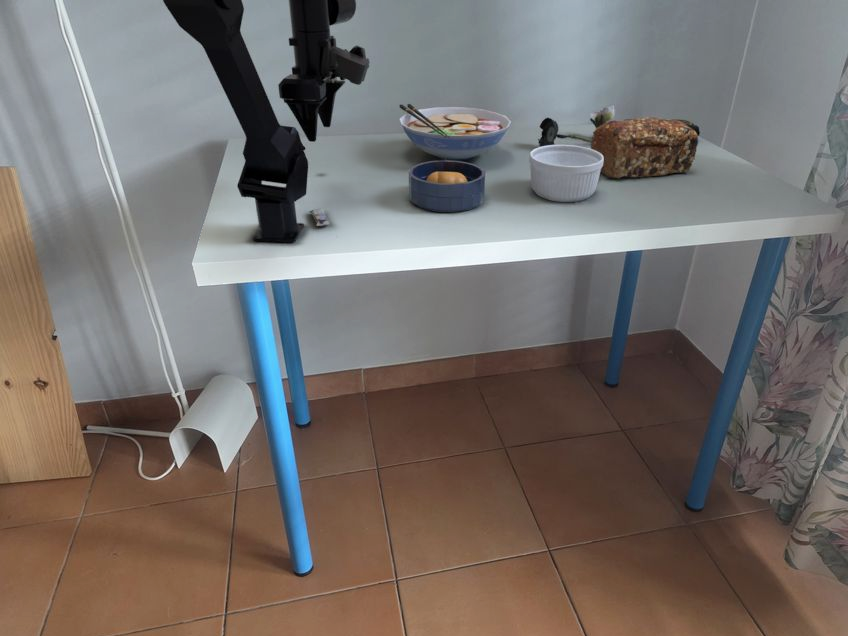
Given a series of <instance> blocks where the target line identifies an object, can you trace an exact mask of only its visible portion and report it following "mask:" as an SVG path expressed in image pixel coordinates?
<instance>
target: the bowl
mask: <svg viewBox="0 0 848 636" xmlns="http://www.w3.org/2000/svg"><path fill="white" fill-rule="evenodd" d="M434 172H458V173H461V174H463V175H464V176H465V178H466V179H467V182H464V183H454V184H446V183H434V182H428V181H426V180H427V178H428V176H429V175H430V174H432V173H434ZM485 185H486V171H485V170H484V169H483V168H482V167H481V166H479V165H477V164H474V163H470V162H466V161H449V160H444V159H441V160H431V161H425V162H420V163H418V164H414V165H413V166H412V167H410V168H409V170H408V198H409V200H410V201H411V202H412V203H414V205H415V206H416V207H419V208H421V209H423V210H426V211H431V212H438V213H459V212H465V211H470V210H473V209H474V208H477V207H479V205H481V204H482V203H483V202H484V201H485Z"/></svg>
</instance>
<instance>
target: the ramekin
mask: <svg viewBox="0 0 848 636" xmlns="http://www.w3.org/2000/svg"><path fill="white" fill-rule="evenodd" d="M528 162H529V164H530V182H531V183H530V184H531V188H532V190H533V192H535V194H536V195H537V196H539V197H540V198H541V199H545V200H549V201H552V202H557V203H559V202H560V203H575V202H581V201H584V200H587V199H589V198H591V196H592V195H593V194H594V193H595V191H596V190H597V186H598V184H599V183H598V182H599V179H600V174H601V172H600V171H601V168H602V166H603V162H604V157H603V155H602V154H601V153H599V152H597V151H595V150H593V149H591V147H585V146H581V145H573V144H555V145H548V146H542V147H540V146H539V147H535V148H534V149H532V150H531V151H530V153H529V158H528Z"/></svg>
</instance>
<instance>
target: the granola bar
mask: <svg viewBox="0 0 848 636" xmlns="http://www.w3.org/2000/svg"><path fill="white" fill-rule="evenodd" d="M309 213H311V215H312V217H313V219H314V220H315V223H316V227H326V226H329V225H331V222H330V221H329V218H328V217H327V216H326V213H325V212H324V209H323V208H315V209H311V210H309Z"/></svg>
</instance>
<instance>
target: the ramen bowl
mask: <svg viewBox="0 0 848 636" xmlns="http://www.w3.org/2000/svg"><path fill="white" fill-rule="evenodd" d="M399 109H401V110H402V111H404V112H405V114H403V115H402V116H401V117H399V122H400V125H401V126H402V129H403V131H404V133H405V134H406V136H407V137H408V139H409V140H410V142H412V143H413V145H414V146H415V147H417V148H418V149H420V150H421V151H422V152H426V153H427V154H429V155H432V156H436V157H437V158H438V159H441V160H448V161H461V162H463V161H467V160H468V161H469V160H470V159H472V158H473V157H477V156H480V155H482V154H485V153H487V152H490V151H491V150H492V149H494V148H495V147H496V146H497V145H498V144H499V143H500V142H501V140H502V138H503V137H504V136H505V134H506V132H507V131H508V129H509V127H510V125H511V123H512V121H511V120H510V119H509V118H508V116H506V115H503V114H501V113H498V112H495V111H492V110H487V109H481V108H475V107H474V108H473V107H460V106H459V107H458V106H448V107H447V106H444V107H443V106H441V107H431V108H429V107H428V108H422V109H417V108H416V107H415V106H414V105H412V104H411V103H407V105H406V106H405V105H404V104H399Z"/></svg>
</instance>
